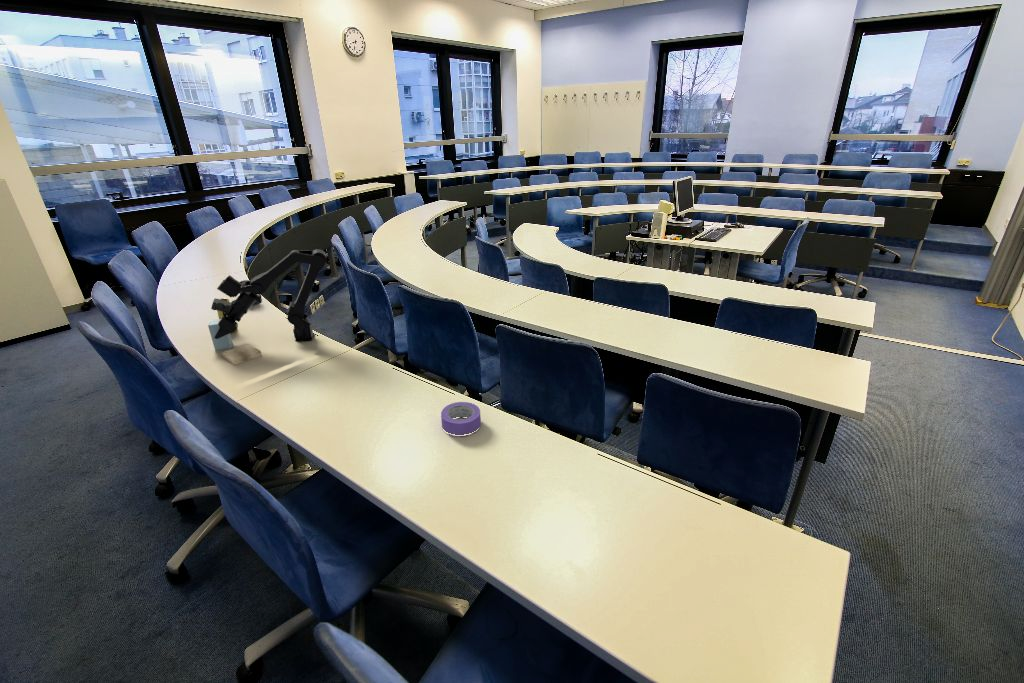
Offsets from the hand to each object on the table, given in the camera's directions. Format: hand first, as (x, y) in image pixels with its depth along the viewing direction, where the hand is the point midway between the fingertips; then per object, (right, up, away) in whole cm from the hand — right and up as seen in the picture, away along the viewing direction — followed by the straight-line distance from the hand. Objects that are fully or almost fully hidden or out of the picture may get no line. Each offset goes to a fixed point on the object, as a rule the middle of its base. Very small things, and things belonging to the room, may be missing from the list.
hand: (217, 333), depth 184 cm
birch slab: (+13, -9, -5) cm, 16 cm away
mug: (-16, +17, +52) cm, 57 cm away
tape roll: (+101, -29, -42) cm, 113 cm away
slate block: (+1, -6, +3) cm, 7 cm away
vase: (-7, +1, +20) cm, 21 cm away
